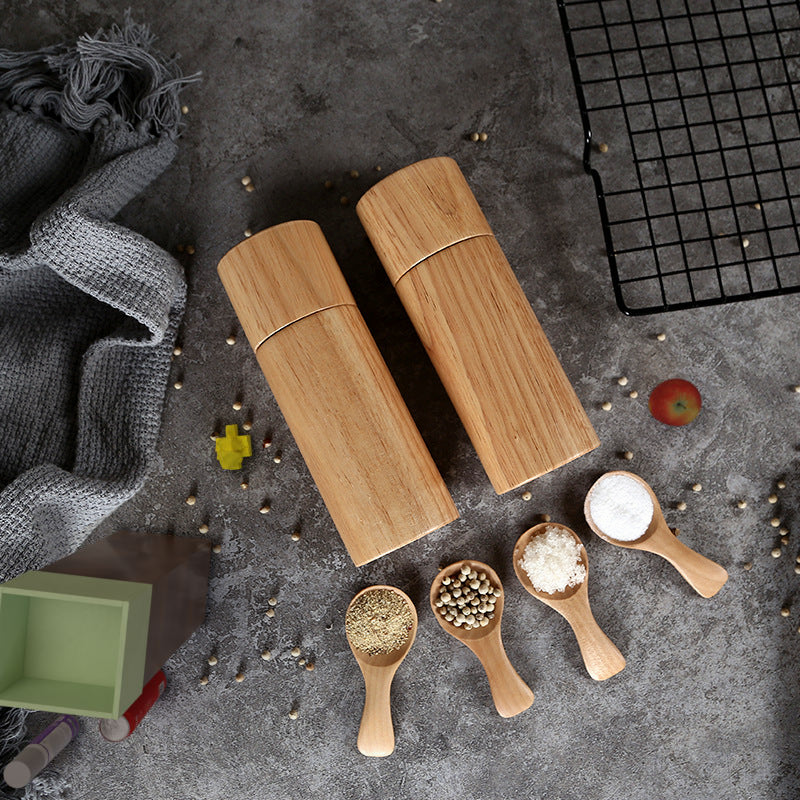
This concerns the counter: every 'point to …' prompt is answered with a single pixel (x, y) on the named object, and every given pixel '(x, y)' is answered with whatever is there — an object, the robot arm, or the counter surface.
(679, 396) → the apple
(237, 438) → the yellow cross puzzle piece
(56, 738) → the container
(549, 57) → the counter surface
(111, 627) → the bin
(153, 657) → the stand
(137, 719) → the beverage can
